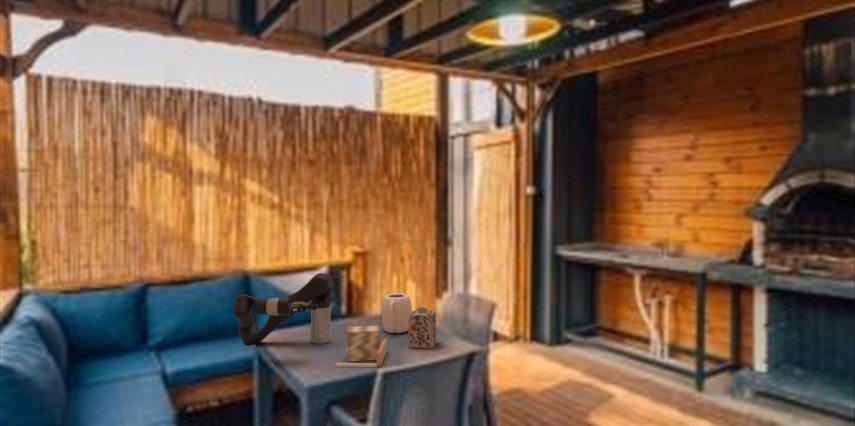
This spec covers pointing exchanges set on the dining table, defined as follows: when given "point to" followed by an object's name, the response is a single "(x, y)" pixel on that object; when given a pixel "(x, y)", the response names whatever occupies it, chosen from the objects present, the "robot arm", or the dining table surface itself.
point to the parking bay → (379, 356)
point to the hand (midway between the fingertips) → (317, 306)
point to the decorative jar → (422, 328)
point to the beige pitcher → (396, 312)
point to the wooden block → (362, 343)
